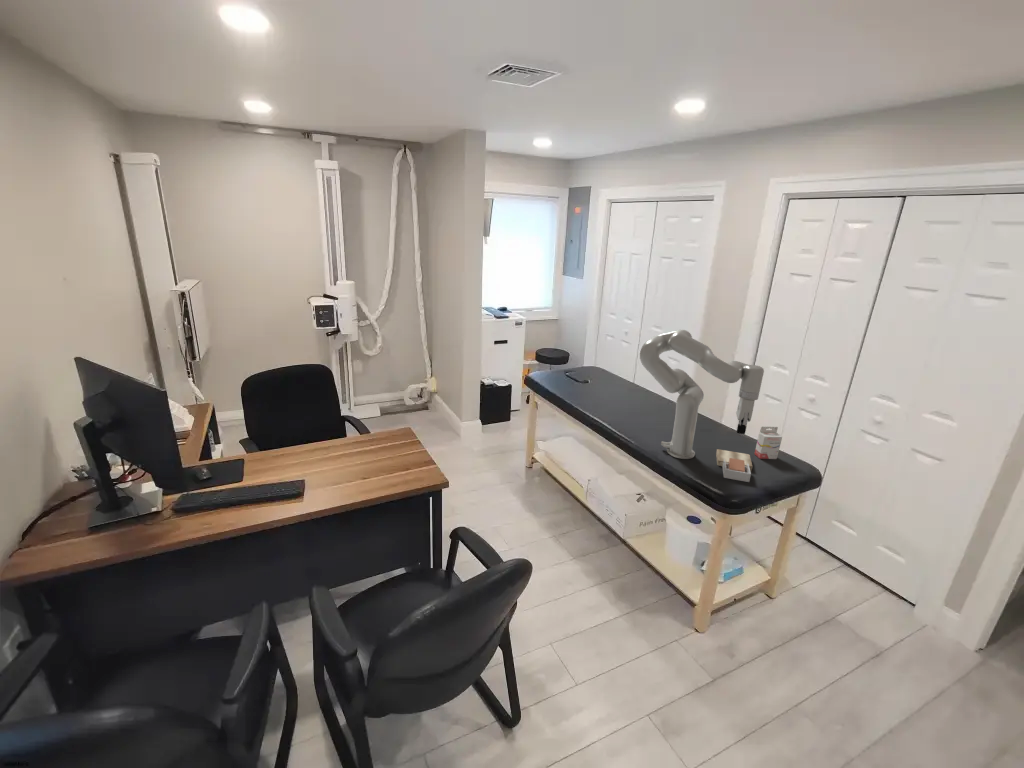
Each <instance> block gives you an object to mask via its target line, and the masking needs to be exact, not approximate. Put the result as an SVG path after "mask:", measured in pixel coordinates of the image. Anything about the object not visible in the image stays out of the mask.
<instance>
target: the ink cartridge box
mask: <svg viewBox="0 0 1024 768" xmlns="http://www.w3.org/2000/svg"><path fill="white" fill-rule="evenodd" d="M778 429H779V426H761V427H760V430H759V433H758V438H757V441H756V444H755V450H754V453H753V454H754V455H755V456H756V457H757V458H759V459H760V460H777V459H778V456H779V451H780V448H781V444H782V440H783V436H782V435H781V434H780V433H778Z"/></svg>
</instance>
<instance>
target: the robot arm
mask: <svg viewBox="0 0 1024 768" xmlns="http://www.w3.org/2000/svg"><path fill="white" fill-rule="evenodd" d="M639 351H640V352H639V360H640V363H641V365H642V366H643V367H644V369H645V370H646V371H647V372H648V373H649V374H650V375H651V377H653V378H654V380H656V382H657V383H658V384H659V385H660V386H661V387H662V388H663V389H664V390H665V392H668V393H670V394H675V393H678V394H679V395H678V396H677V399H676V403H675V413H674V414H675V416H674V423H673V430H672V436H671V440H670V441H668V442H666V441H663V440H662V441H661V442H660V446H663V448H666V452H667V454H669V455H670V456H671V457H674V458H676V459H682V460H689V459H693V458H694V457H695V455H696V452H695V450H693V446H694V439H695V433H696V426H697V420H698V413H699V412H698V411H699V406H700V405H701V403H702V402H703V399H704V391H703V389H702V388H701V387H700V385H699V384H698V383H696V382H695V380H694V379H693V378H692V377H691V376H690V375H689V374H688V373H687V372H686V371H684V370H683V369H680V368H672V367H670V365H669V364H668V363H667V362H666V361H665V360H663V359H661V357H660V355H661V354H662V353H665V352H668V351H669V352H670V351H674V352H676V353H678V354H680V355H682V356H683V357H686V358H687V359H689V360H691V361H693V362H694V363H696V364H697V365H699V366H700V367H701V368H702V369H703V370H705V371H706V372H707V373H709V375H711V376H713V377H714V378H716V379H718V380H721V381H722V382H724V383H728V384H735V383H737V382H738V381H740V380H741V381H740V386H739V393H738V397H739V401H738V404H737V409H736V412H735V413H736V417H737V421H738V424H737V427H736V434H739V435H740V434H741V435H745V434H746V432H747V426H748V423H749V422H751V420H752V417H753V411H754V406H755V401H757V400H758V399H759V397H760V393H761V387H762V383H763V382H762V381H763V378H764V377H763V376H764V373H765V370H764V369H765V368H763V366H760V365H756V364H748V363H744V362H742V361H741V362H740V361H737V360H731V361H729V362H725V361H724V360H721V358H719V357H717V356H716V355H715V354H714V352H713V351H712V349H711V348H710V346H709V345H707V344H705V343H703V342H700V341H699V340H697V339H695V338H693V336H692V334H691V332H689V331H688V330H685V329H679V330H675V331H671V332H666V333H662V334H658V335H654V336H653V337H651V338H649V339H648V340H646V341H645V343H643V344H642V346H641V348H640V350H639Z"/></svg>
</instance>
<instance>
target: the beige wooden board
mask: <svg viewBox="0 0 1024 768" xmlns="http://www.w3.org/2000/svg"><path fill="white" fill-rule="evenodd" d="M715 456H716V464H717V466H718V467H719V466H720V467H722V466H723V461H724V460H725V463H728V464H729V458H733V459H739V460H744V462H745V466H746V467H747V464H749V468H750V472H752V470H753V463H752V459H751V455H750V454H748V453H744V452H738V451H737V452H736V451H731V450H725V449H719V448H718V449H717V448H716V452H715Z"/></svg>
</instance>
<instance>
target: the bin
mask: <svg viewBox="0 0 1024 768" xmlns="http://www.w3.org/2000/svg"><path fill="white" fill-rule="evenodd" d="M721 467H722V468H721V469H722V474H723V478H724V479H731V480H734V481H735V480H736V481H739V482H740V481H741V482H747V483H750V481H751V476H752V471H750V468H749V464H747V467H746V466H745V472H740V471H734V470H729V464H728V463H725V460H724V461H723V466H721Z"/></svg>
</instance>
